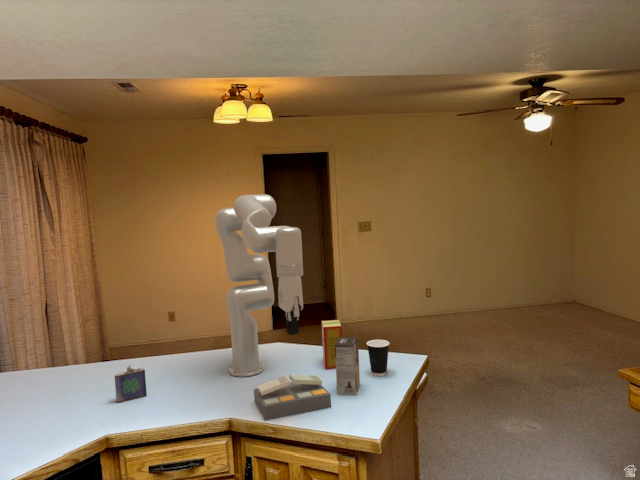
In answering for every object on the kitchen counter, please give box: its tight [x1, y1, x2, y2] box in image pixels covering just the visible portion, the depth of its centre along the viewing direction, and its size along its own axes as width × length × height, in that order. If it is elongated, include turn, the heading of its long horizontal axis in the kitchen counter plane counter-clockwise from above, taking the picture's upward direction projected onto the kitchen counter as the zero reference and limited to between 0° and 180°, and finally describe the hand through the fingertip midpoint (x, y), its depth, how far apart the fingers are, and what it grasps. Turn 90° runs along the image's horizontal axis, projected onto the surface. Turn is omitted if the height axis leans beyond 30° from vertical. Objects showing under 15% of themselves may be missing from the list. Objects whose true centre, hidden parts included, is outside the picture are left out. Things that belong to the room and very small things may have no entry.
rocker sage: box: [288, 373, 323, 386], centre depth 145 cm, size 5×9×1 cm, turn 110°
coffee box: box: [335, 336, 361, 396], centre depth 151 cm, size 9×6×16 cm
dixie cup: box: [366, 339, 391, 377], centre depth 164 cm, size 8×8×11 cm
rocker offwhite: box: [257, 375, 291, 396], centre depth 141 cm, size 5×9×1 cm, turn 110°
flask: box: [114, 365, 148, 403], centre depth 152 cm, size 9×3×11 cm, turn 121°
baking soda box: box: [321, 319, 343, 370], centre depth 175 cm, size 10×6×16 cm
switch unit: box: [253, 381, 332, 421], centre depth 142 cm, size 14×20×5 cm
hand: (293, 333), depth 136 cm, fingers closed
